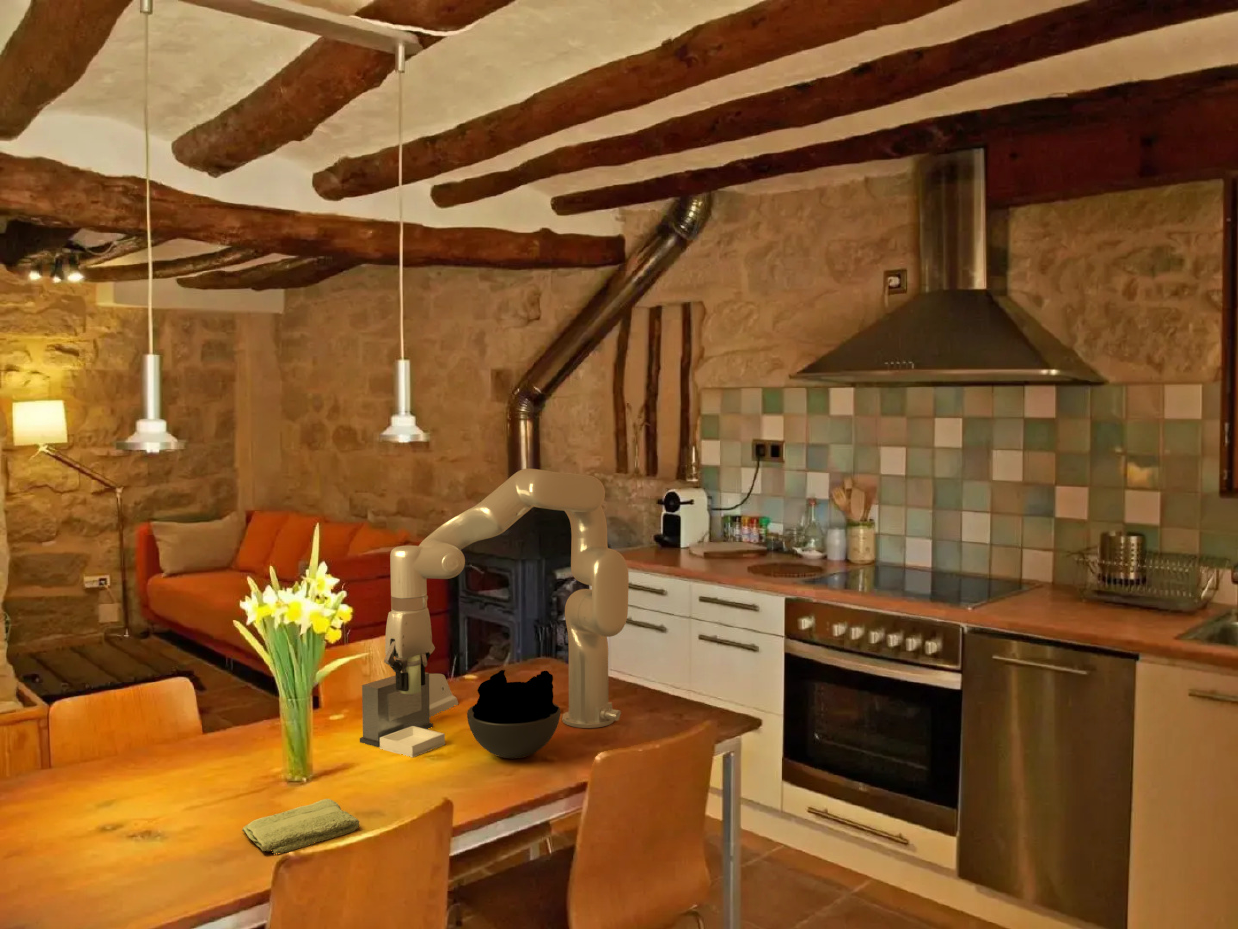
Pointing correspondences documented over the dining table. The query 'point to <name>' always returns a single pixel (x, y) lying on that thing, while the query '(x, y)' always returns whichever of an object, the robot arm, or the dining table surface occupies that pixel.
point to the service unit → (392, 709)
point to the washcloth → (301, 826)
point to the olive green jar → (413, 674)
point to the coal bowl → (514, 715)
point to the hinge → (440, 694)
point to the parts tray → (412, 741)
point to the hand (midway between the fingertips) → (410, 686)
